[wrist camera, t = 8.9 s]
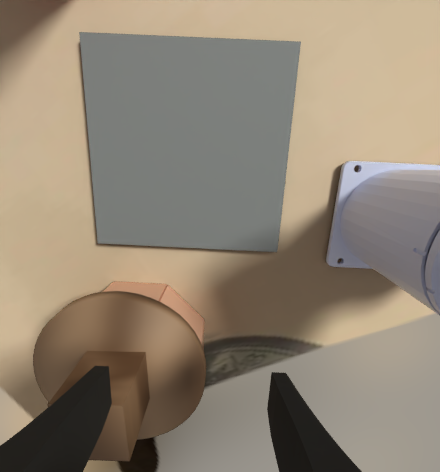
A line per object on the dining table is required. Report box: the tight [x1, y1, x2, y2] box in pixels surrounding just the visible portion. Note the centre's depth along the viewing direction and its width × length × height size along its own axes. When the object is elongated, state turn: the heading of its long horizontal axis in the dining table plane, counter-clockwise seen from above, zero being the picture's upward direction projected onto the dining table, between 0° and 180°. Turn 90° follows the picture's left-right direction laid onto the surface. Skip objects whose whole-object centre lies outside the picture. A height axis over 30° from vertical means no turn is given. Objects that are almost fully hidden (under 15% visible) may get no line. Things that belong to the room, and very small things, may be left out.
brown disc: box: [33, 291, 206, 461], centre depth 16 cm, size 12×12×5 cm
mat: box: [79, 32, 301, 252], centre depth 18 cm, size 14×14×1 cm
